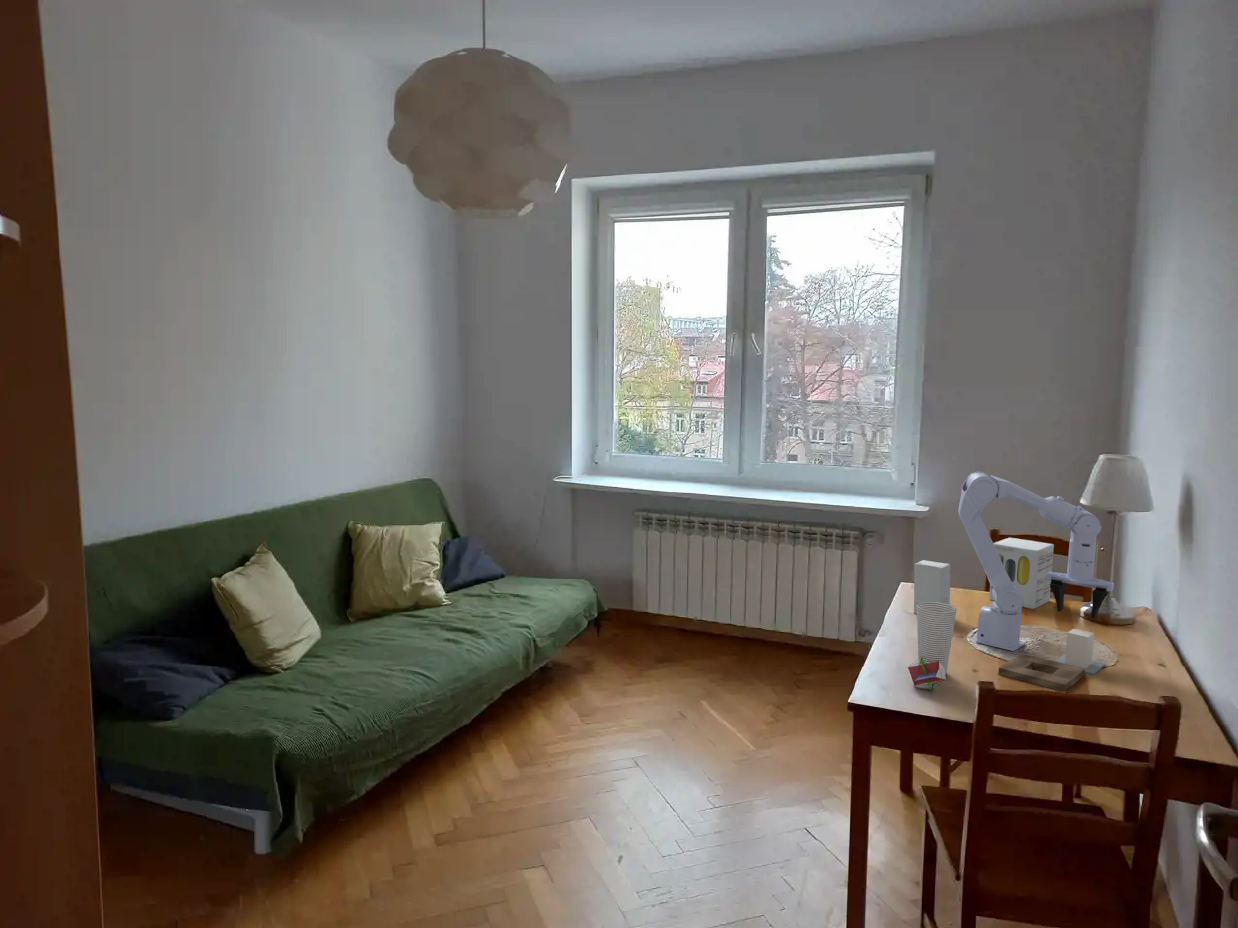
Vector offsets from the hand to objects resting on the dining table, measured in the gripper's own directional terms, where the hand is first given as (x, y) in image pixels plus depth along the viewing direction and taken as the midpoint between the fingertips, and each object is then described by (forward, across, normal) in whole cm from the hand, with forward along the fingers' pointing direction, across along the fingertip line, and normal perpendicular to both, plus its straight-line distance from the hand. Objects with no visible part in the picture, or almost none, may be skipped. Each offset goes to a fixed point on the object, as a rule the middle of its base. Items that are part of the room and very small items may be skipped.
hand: (1076, 613), depth 208 cm
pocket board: (+9, 0, -23) cm, 25 cm away
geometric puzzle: (+10, -15, -50) cm, 53 cm away
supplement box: (+10, -26, +37) cm, 46 cm away
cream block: (+9, +4, -10) cm, 14 cm away
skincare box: (+10, -38, +3) cm, 39 cm away
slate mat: (+9, +4, -10) cm, 14 cm away
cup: (+10, -18, -40) cm, 45 cm away
